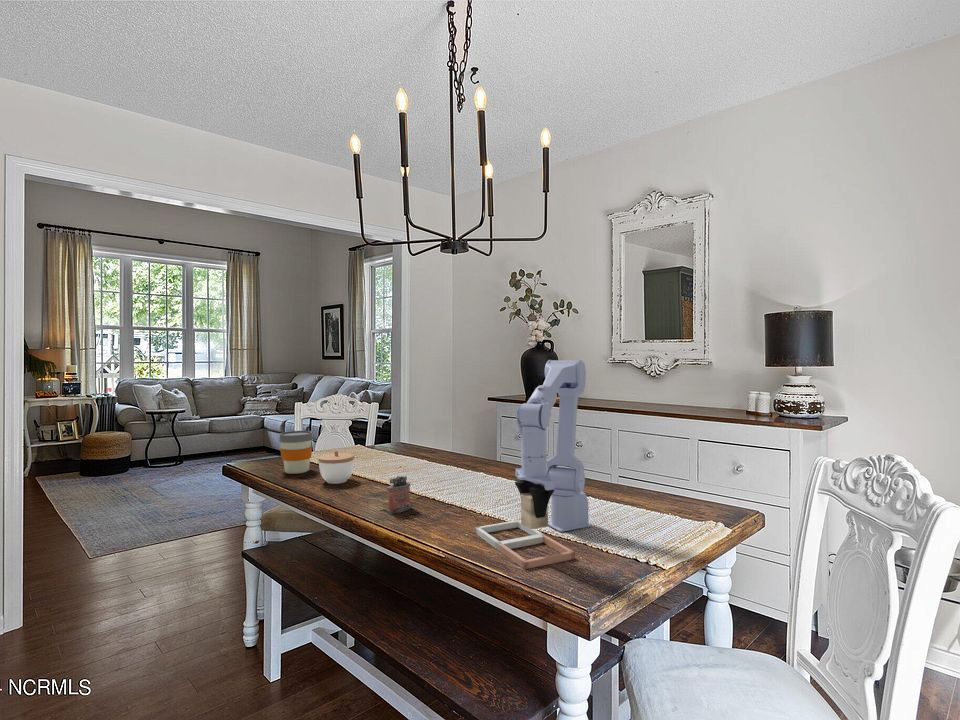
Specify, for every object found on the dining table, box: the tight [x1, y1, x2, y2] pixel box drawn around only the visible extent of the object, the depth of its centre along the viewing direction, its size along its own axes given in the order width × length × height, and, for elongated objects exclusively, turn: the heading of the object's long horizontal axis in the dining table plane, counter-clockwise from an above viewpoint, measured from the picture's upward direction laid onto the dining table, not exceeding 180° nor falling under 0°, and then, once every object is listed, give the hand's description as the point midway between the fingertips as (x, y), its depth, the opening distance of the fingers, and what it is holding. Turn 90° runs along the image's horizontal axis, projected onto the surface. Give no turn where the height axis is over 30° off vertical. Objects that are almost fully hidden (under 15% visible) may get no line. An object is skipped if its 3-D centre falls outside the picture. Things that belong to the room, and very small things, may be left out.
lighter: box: [386, 475, 412, 515], centre depth 166 cm, size 8×3×10 cm, turn 141°
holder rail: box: [474, 519, 576, 570], centre depth 135 cm, size 13×26×2 cm, turn 25°
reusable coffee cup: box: [278, 430, 313, 475], centre depth 220 cm, size 12×13×15 cm
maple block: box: [520, 492, 549, 530], centre depth 129 cm, size 4×4×7 cm
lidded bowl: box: [317, 450, 355, 485], centre depth 202 cm, size 13×13×11 cm
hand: (534, 514), depth 129 cm, fingers closed on maple block, 4 cm apart
